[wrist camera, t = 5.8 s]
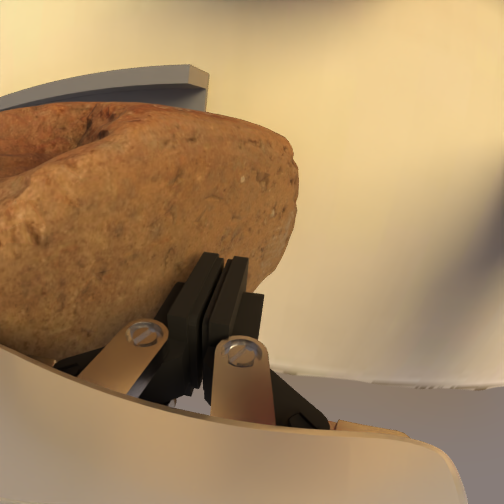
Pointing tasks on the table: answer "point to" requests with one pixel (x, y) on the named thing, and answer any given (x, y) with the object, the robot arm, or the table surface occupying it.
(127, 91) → the tray
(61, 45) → the table surface
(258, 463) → the robot arm
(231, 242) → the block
